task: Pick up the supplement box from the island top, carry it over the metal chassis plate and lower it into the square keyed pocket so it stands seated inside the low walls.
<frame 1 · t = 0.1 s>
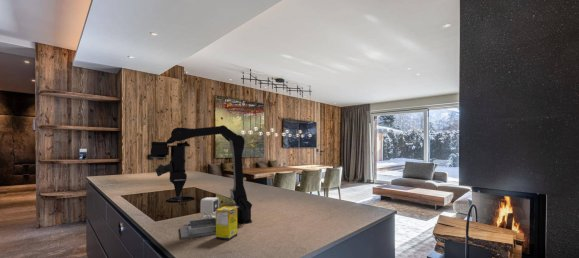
hand: (177, 194, 110), 15 cm above the worktop, fingers open, 9 cm apart
supplement box: (226, 237, 101), on the worktop
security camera: (209, 220, 124), on the worktop
chassis plate: (204, 230, 109), on the worktop
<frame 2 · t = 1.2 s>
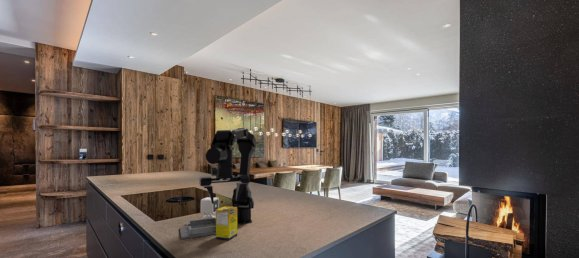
hand: (224, 202, 102), 13 cm above the worktop, fingers open, 9 cm apart
nothing on the worktop moved.
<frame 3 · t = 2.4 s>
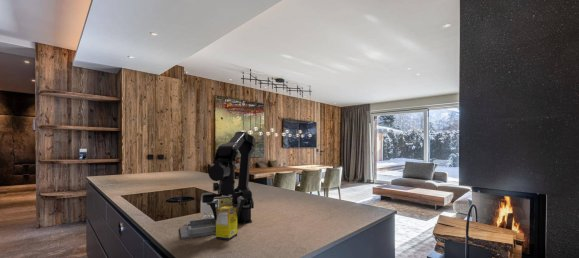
hand: (226, 218, 101), 7 cm above the worktop, fingers closed on supplement box, 8 cm apart
supplement box: (226, 237, 101), on the worktop, touching gripper
everything else where it was.
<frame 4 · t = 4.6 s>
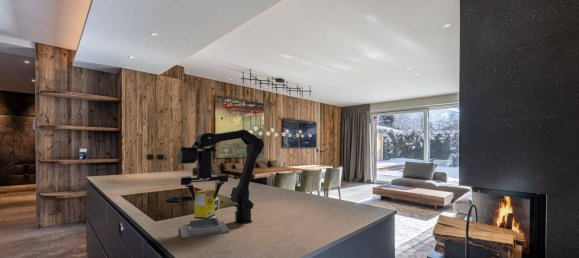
hand: (204, 200, 110), 12 cm above the worktop, fingers closed on supplement box, 8 cm apart
supplement box: (204, 217, 110), point 5 cm above the worktop, touching gripper
everything else where it was.
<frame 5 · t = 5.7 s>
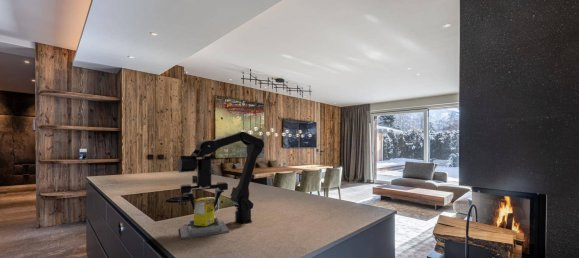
hand: (204, 208, 110), 9 cm above the worktop, fingers closed on supplement box, 8 cm apart
supplement box: (204, 226, 110), point 2 cm above the worktop, touching gripper
everything else where it was.
when the fingers open (9 cm above the worktop, at t = 6.5 s): supplement box drops 1 cm, resting on chassis plate.
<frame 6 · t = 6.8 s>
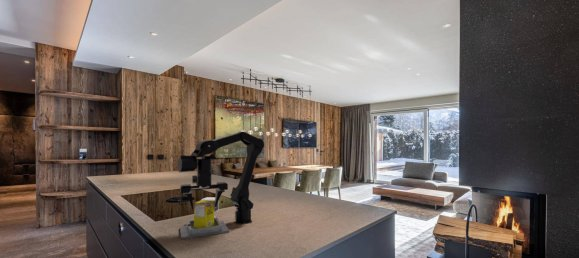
hand: (204, 208, 110), 9 cm above the worktop, fingers open, 9 cm apart
supplement box: (204, 228, 109), point 1 cm above the worktop, touching chassis plate
everything else where it was.
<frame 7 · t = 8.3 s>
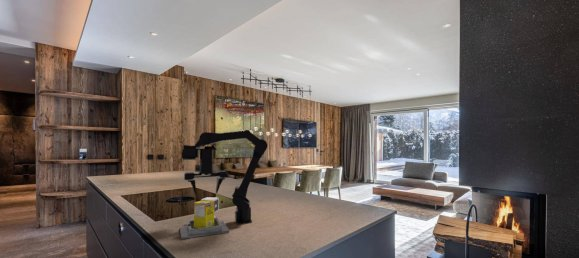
hand: (206, 194, 119), 13 cm above the worktop, fingers open, 9 cm apart
nothing on the worktop moved.
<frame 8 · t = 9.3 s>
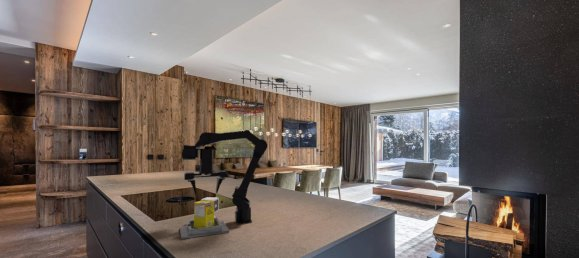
hand: (206, 194, 120), 13 cm above the worktop, fingers open, 9 cm apart
nothing on the worktop moved.
at the end: supplement box 0.1 cm off-centre on the chassis plate, point 0.6 cm above the chassis plate's base; supplement box tilted 0°; the gripper is holding nothing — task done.
